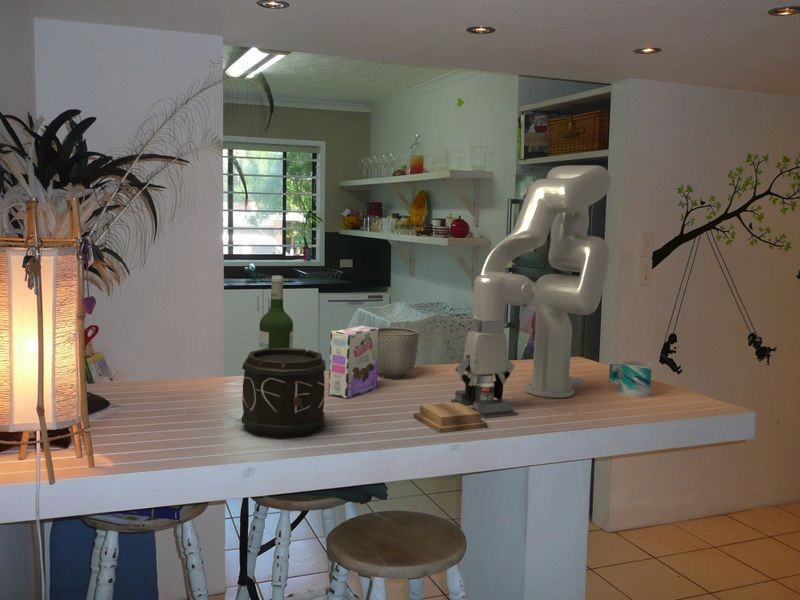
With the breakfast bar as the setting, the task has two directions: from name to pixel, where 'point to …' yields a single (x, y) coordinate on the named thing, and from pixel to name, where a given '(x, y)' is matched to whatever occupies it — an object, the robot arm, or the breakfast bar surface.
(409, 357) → the planter
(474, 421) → the tan square pedestal
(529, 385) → the robot arm
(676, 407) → the breakfast bar surface
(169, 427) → the breakfast bar surface
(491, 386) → the pill bottle
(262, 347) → the wine bottle
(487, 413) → the clamp jaws
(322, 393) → the wooden barrel
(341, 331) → the candy box
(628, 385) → the mug
